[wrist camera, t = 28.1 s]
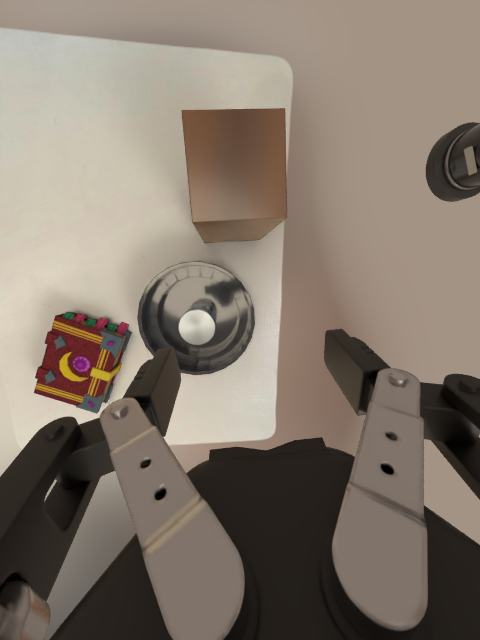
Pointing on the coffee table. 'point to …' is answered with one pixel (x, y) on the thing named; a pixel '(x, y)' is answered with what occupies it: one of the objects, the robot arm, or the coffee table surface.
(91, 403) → the decorative book
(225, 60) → the coffee table surface
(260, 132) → the crate
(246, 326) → the silver metal bowl
